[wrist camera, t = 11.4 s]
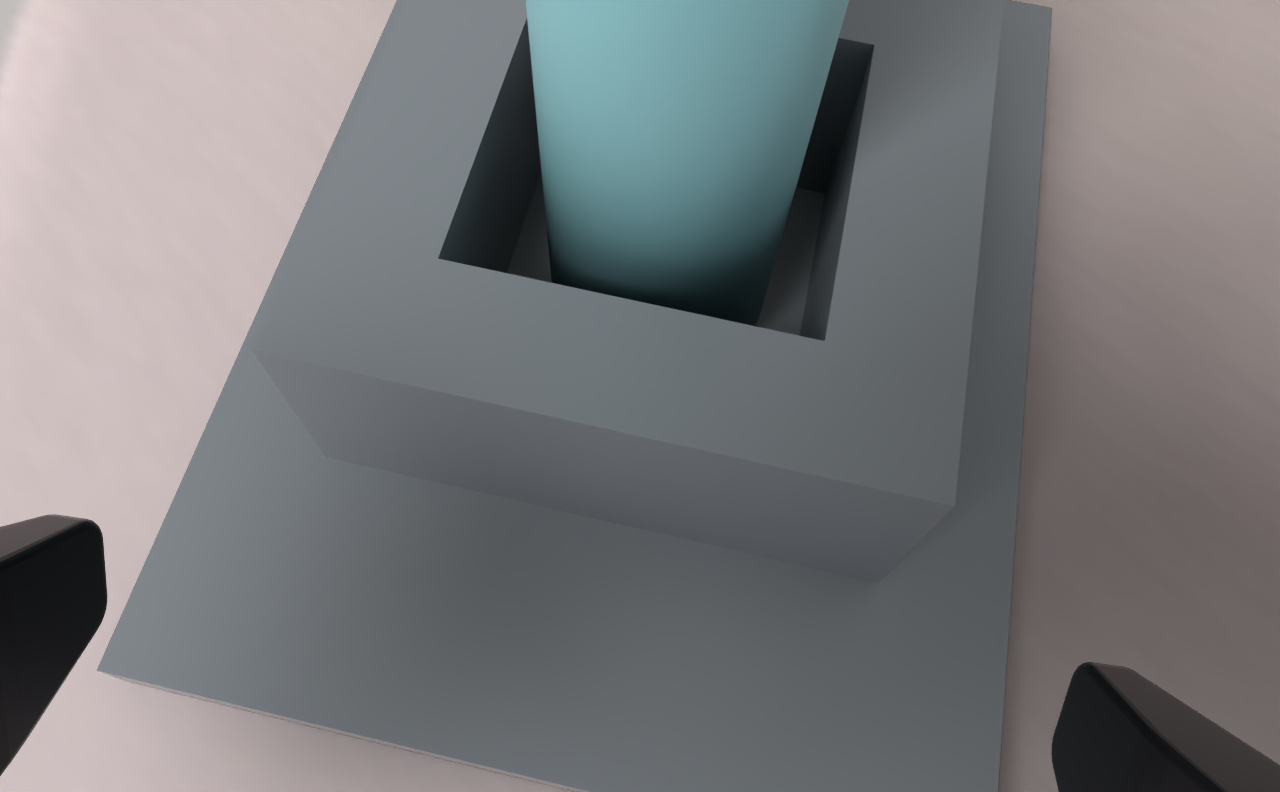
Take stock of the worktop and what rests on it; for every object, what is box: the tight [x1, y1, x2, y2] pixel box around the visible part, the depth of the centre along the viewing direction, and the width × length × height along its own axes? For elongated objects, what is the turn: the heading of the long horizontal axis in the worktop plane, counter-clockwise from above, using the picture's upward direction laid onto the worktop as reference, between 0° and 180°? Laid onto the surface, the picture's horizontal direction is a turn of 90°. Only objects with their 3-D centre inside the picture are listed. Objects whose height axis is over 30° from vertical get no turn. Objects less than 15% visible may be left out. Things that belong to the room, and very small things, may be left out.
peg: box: [526, 0, 849, 326], centre depth 13 cm, size 4×4×13 cm
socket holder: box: [97, 0, 1052, 792], centre depth 18 cm, size 18×14×5 cm
